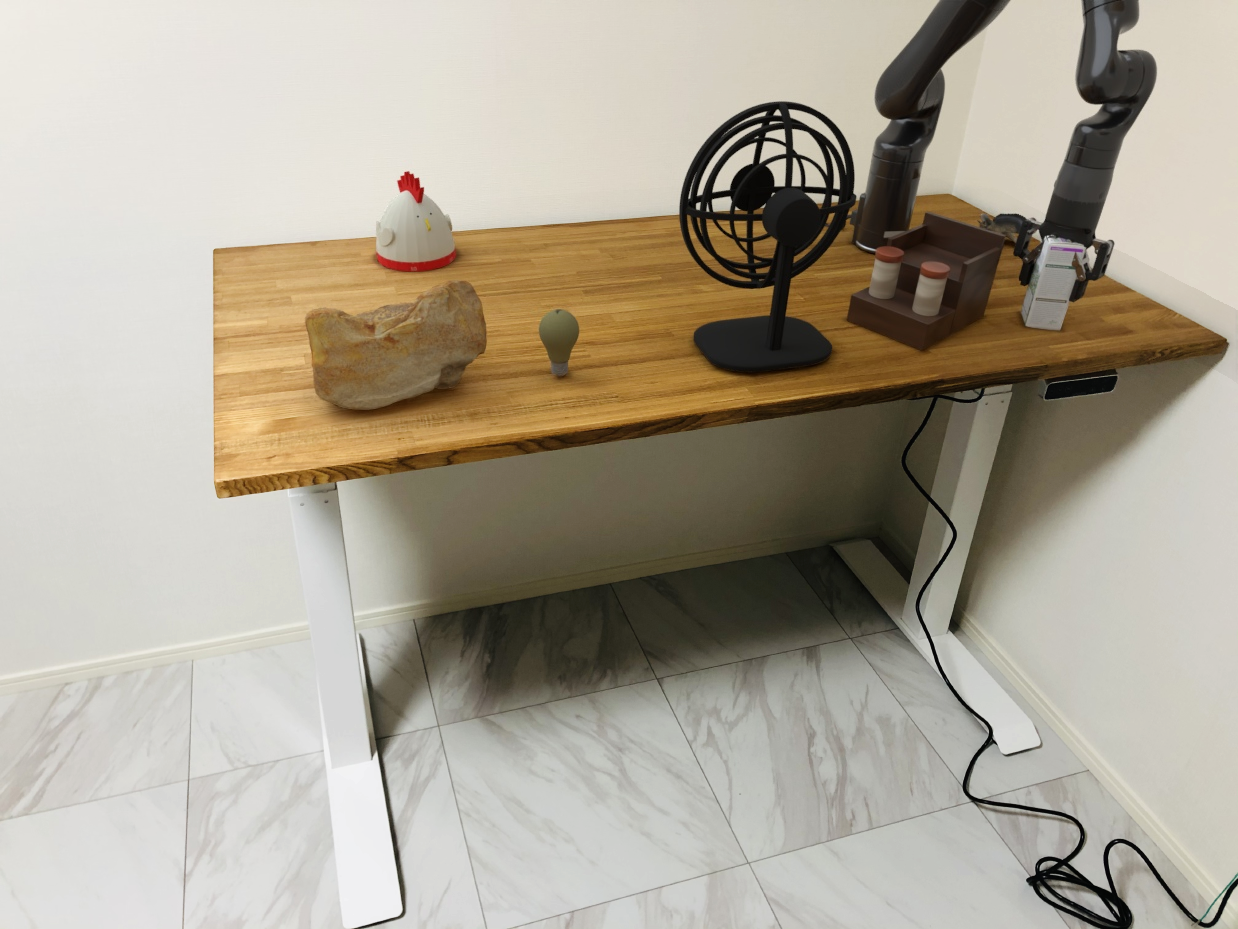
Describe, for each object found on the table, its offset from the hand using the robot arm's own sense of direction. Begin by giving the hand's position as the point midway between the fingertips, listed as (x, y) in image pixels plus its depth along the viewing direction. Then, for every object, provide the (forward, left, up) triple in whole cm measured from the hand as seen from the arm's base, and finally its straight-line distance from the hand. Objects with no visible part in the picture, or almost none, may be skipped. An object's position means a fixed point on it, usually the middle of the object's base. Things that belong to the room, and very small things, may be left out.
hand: (1048, 292), depth 150 cm
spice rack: (-14, -15, -5) cm, 21 cm away
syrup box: (0, 0, -5) cm, 5 cm away
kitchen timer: (-87, -63, -5) cm, 108 cm away
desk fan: (-24, -43, -5) cm, 49 cm away
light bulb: (-37, -72, -5) cm, 81 cm away
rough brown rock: (-50, -90, -5) cm, 103 cm away
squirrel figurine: (-22, +28, -5) cm, 36 cm away
